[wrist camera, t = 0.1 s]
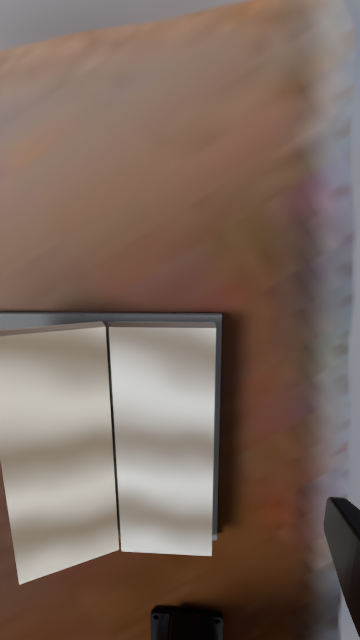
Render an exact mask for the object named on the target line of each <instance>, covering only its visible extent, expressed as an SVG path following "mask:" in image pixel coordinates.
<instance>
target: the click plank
mask: <svg viewBox="0 0 360 640" xmlns="http://www.w3.org/2000/svg"><path fill="white" fill-rule="evenodd" d="M0 460H1V466H2V473H3V480H4V486H5V493H6V500H7V506H8V513H9V520H10V526H11V533H12V540H13V546H14V553H15V560H16V566H17V573H18V580H19V585H20V584H23V583H25V582H28V581H31V580H34V579H37V578H40V577H43V576H45V575H48V574H51V573H54V572H57V571H60V570H62V569H65V568H68V567H71V566H74V565H77V564H80V563H82V562H85V561H88V560H91V559H94V558H97V557H99V556H102V555H105V554H108V553H111V552H114V551H117V550H119V542H118V525H117V509H116V492H115V475H114V459H113V442H112V425H111V409H110V392H109V375H108V359H107V342H106V327H105V325H104V324H103V322H102V321H99V322H87V323H75V324H63V325H51V326H39V327H27V328H15V329H3V330H0Z"/></svg>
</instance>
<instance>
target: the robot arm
mask: <svg viewBox="0 0 360 640" xmlns="http://www.w3.org/2000/svg"><path fill="white" fill-rule="evenodd" d="M324 531H325V535H326V539H327V542H328V545H329V548H330V552H331V555H332V558H333V562H334V565H335V568H336V572H337V575H338V578H339V582H340V585H341V588H342V592H343V595H344V598H345V601H346V604H347V607H348V609H349V612H350V615H351V617H352V620H353V622H354V624H355V627H356V630H357V632H358V635H359V637H360V510H359V509H358V508H357V507H356V506H354V505H353V504H351V502H349V501H348V500H347V499H345V498H340V497H329V498H328V499H327V503H326V510H325V517H324ZM151 640H223V615H222V614H221V613H220V612H209V611H194V610H178V609H163V608H154V609H152V611H151Z"/></svg>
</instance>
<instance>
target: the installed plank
mask: <svg viewBox="0 0 360 640" xmlns="http://www.w3.org/2000/svg"><path fill="white" fill-rule="evenodd" d="M107 339H108V356H109V373H110V390H111V407H112V424H113V441H114V458H115V474H116V491H117V508H118V525H119V537H121V550H122V551H126V552H145V553H163V554H182V555H200V556H212V513H213V462H214V411H215V360H216V325H215V322H158V321H109V322H107Z"/></svg>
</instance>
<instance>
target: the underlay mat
mask: <svg viewBox="0 0 360 640" xmlns="http://www.w3.org/2000/svg"><path fill="white" fill-rule="evenodd" d="M99 321H102V322H103V324H104V325H105V327H106V342H107V359H108V375H109V392H110V409H111V425H112V442H113V459H114V475H115V492H116V509H117V525H118V508H117V491H116V474H115V458H114V441H113V424H112V407H111V390H110V373H109V356H108V339H107V322H109V321H158V322H215V325H216V360H215V411H214V462H213V513H212V540H217V509H218V467H219V425H220V383H221V340H222V313H84V312H0V330H3V329H15V328H27V327H39V326H51V325H63V324H75V323H87V322H99ZM118 535H119V525H118Z"/></svg>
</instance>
